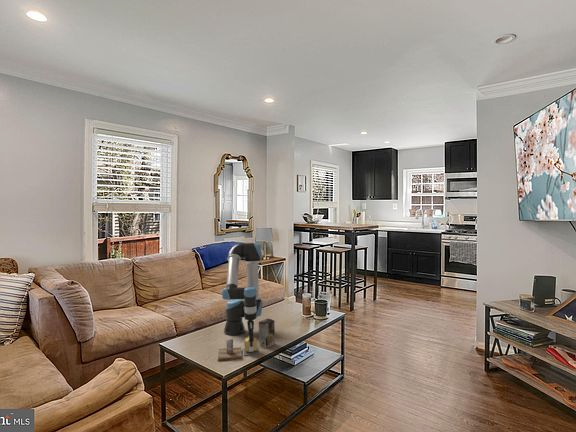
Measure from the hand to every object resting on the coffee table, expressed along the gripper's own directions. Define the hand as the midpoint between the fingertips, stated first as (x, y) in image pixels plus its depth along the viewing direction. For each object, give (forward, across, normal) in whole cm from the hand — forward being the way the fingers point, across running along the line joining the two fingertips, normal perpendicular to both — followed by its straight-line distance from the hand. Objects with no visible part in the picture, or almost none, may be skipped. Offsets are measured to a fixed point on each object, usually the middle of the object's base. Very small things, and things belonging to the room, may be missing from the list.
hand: (250, 348), depth 212 cm
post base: (+2, +2, -13) cm, 13 cm away
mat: (+2, 0, 0) cm, 2 cm away
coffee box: (+3, -9, +11) cm, 14 cm away
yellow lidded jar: (0, 0, 0) cm, 0 cm away
